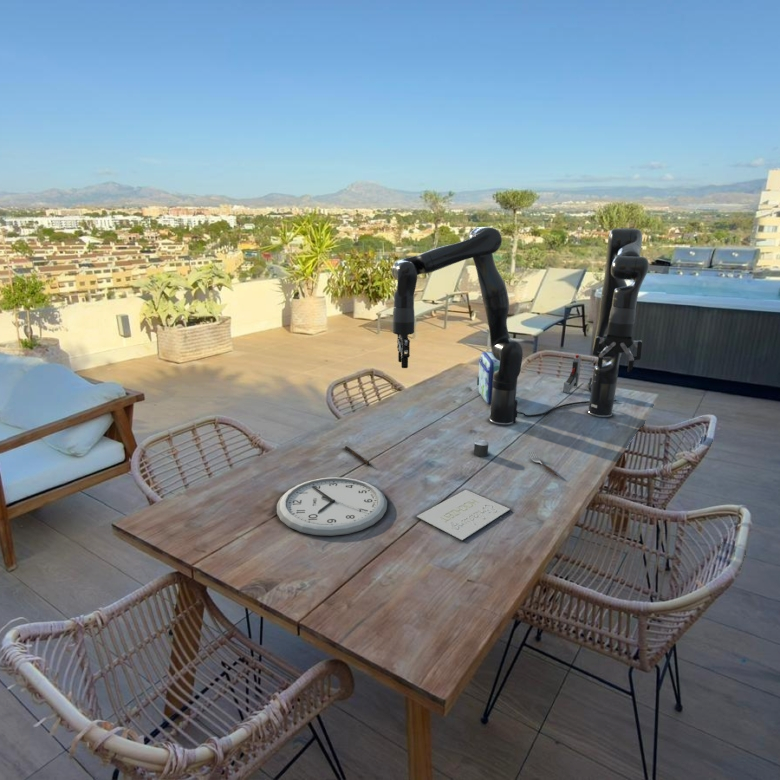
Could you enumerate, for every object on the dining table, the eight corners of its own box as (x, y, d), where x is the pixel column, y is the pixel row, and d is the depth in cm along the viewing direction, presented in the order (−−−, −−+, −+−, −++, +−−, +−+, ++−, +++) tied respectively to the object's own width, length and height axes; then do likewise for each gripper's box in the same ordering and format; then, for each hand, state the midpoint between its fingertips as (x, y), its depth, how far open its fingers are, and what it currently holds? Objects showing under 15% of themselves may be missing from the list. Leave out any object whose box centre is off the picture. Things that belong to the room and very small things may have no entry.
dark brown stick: (344, 448, 179) (344, 445, 179) (346, 448, 179) (346, 445, 179) (367, 464, 167) (367, 462, 167) (368, 464, 167) (368, 461, 167)
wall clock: (392, 527, 129) (268, 531, 127) (391, 533, 130) (269, 537, 127) (383, 473, 158) (282, 475, 155) (383, 478, 158) (282, 480, 156)
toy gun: (565, 361, 240) (576, 353, 251) (562, 394, 245) (573, 384, 257) (571, 362, 238) (581, 354, 249) (567, 395, 244) (578, 385, 255)
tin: (473, 455, 176) (473, 444, 174) (474, 450, 180) (475, 439, 179) (487, 457, 174) (487, 446, 173) (488, 452, 179) (489, 440, 177)
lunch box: (475, 390, 246) (478, 346, 240) (498, 390, 246) (501, 347, 240) (484, 408, 221) (487, 360, 215) (509, 409, 221) (513, 360, 215)
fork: (554, 478, 160) (554, 472, 160) (527, 457, 175) (528, 451, 174) (561, 477, 161) (562, 471, 160) (534, 456, 175) (535, 450, 175)
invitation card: (465, 489, 152) (510, 508, 142) (465, 490, 152) (510, 509, 142) (416, 515, 137) (462, 539, 127) (416, 516, 138) (462, 540, 127)
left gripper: (417, 323, 175) (416, 369, 180) (411, 316, 189) (410, 359, 194) (395, 323, 174) (394, 370, 179) (390, 316, 188) (390, 360, 193)
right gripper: (646, 320, 167) (638, 369, 172) (598, 317, 172) (592, 364, 177) (646, 324, 160) (638, 375, 165) (597, 320, 166) (590, 370, 171)
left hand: (402, 364), depth 186 cm, fingers open, 8 cm apart
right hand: (614, 369), depth 171 cm, fingers open, 8 cm apart
